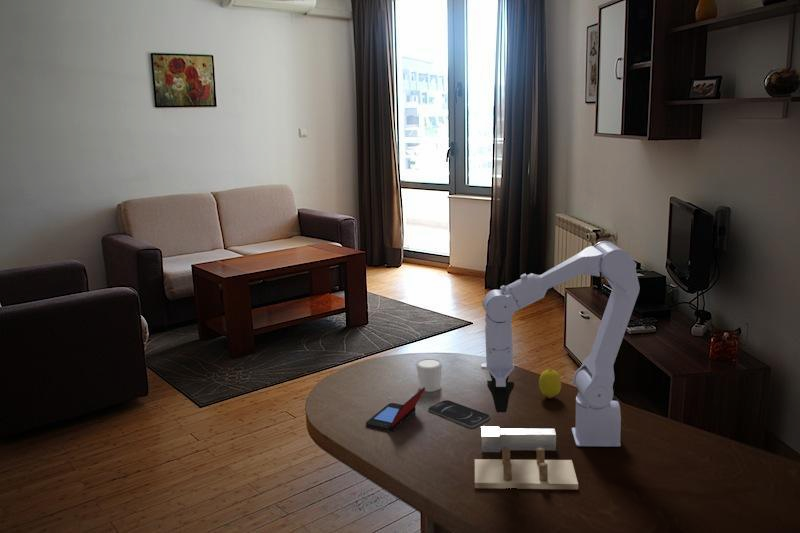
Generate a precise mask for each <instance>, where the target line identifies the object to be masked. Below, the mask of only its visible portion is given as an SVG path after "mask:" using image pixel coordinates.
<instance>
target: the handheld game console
mask: <svg viewBox="0 0 800 533" xmlns="http://www.w3.org/2000/svg"><path fill="white" fill-rule="evenodd" d="M424 392H426V391H425V387H424V388H422V389H419V391H418V392H416V393H415V394H414V395H413V396H412V397H411V398H410V399H408V400H407V401H406V402H405V403H403V404H401V403H400V404H399V403H397V402H390V403H388V404H387V405H385V406H384V407H383V408H381V409H380V410H379V411H377V413H376V414H374V415H373V416H372V417H370V418H369V419H368V420H366V422H365V426H366V427H367V428H370V427H371V428H372V429H376V430H381V431H385V432H389V433H392V432H393V431H394V430H395V429H396V428H397V427H399V426H400V425H401V423H402V422H403V421H404V420H406V419H408V418H409V417H410V416H411V415H413V413H415V412H416V406H417V404H418V402H419V401H420V399H421V397H422V396H423V394H424Z"/></svg>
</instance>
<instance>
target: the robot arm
mask: <svg viewBox="0 0 800 533" xmlns="http://www.w3.org/2000/svg"><path fill="white" fill-rule="evenodd" d="M636 268H637V263H636V261H635V260H634V258H633V257H632V256H631V255H630V254H629V252H627V251H625V250H624V249H621V248H620V247H618V246H617V245H616V244H615V243H613V242H611V241H609V240H602V241H599V242H597V243H595V244H594V245H590V246H587V247H585V248H584V249H583V250H581V251H580V252H578V253H576V254H575V255H573V256H571V257H570V258H568V259H566V260H564V261H562V262H561V263H559V264H556V265H555V266H554V267H552V268H550V269H547V271H545V272H543V273H542V274H536V273H532V272H531V273H529V274H526V273H523V274H521V275H520V277H519V278H520V279H517V280H515V281H514V282H512V283H509V284H507V285H504V284H503V285H501V286H500V289H492V290H490V291H488V292H487V293H486V294H485V296H484V297H483V300H482V302H481V303H482V307H483V309H484V311H485V326H484V329H485V330H484V331H485V333H484V334H485V335H484V336H485V357H486V358H485V359H486V360H485V361H486V362H482V363H481V365H480V368H481V370H486V371H487V372H488V373H489V375H490V379H491V380H487V381H486V384H487V388H488V390H489V392H490V393H491V396H492V399H493V403H494V404H493V405H494V408H495V412H496V413H507V410H508V407H509V401H510V397H511V396H510V395H511V393H512V391H513V389H514V388H515V382H514V381H509V377H510V374H511V373H512V372H513V371H514V370H515V364H514V356H513V355H514V354H513V353H514V350H513V346H514V345H513V324H512V318H513V316H514V314H515V312H518V311H520V310H522V309H523V308H526V307H527V306H530V305H532V304H534V303H535V302H538V301H540V300H542V299H544V298H545V295H546V293H547V292H548V290H549V289H551V288H554V287H555V286H558V285H560V284H563V283H565V282H568V281H569V280H571V279H574V278H575V277H578V276H581V275H588V276H594V277H601V274H602V275H603V276H604V277H605V279H606V280H607V282H608V285H609V286H610V288H611V292H610V295H609V298H608V301H607V303H606V307H605V309H604V312H603V315H602V319H601V322H600V323H599V327H598V330H597V333H596V336H595V338H594V342H593V345H592V348H591V351H590V353H589V355H588V356H586V357H585V358H584V359H583V362H582V364H581V366H580V367H579V368H578V369H577V370H576V371H575V373H574V374H573V384H574V386H575V388H577V390H578V391H577V394H576V396H575V427H571V433H572V435H573V440H574V444H575V445H576V447H607V448H609V447H622V446H621V445H622V442H621V428H622V427H621V424H622V423H621V422H622V416H621V415H622V414H621V412H622V411H621V405H620V403H619V401H618V400H613V398H614V388H613V386H614V382H615V371H614V364H615V362H616V358H617V356H618V353H619V350H620V347H621V345H622V342H623V339H624V336H625V334H626V331H627V327H628V325H629V322H630V319H631V316H632V313H633V310H634V307H635V305H636V301H637V299H638V296H639V294H640V288H641V287H640V281H639V277H638V273H637V269H636Z"/></svg>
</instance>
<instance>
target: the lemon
mask: <svg viewBox="0 0 800 533" xmlns="http://www.w3.org/2000/svg"><path fill="white" fill-rule="evenodd" d="M538 387H539V390H540V391H539V392H540V393H542V395H543V396H545V397H547V398H548V399H552V398H553V397H555V396H558V394H559V393H560V391H561V388H562V379H561V376H560V374H559V373H558V372H557V371H556V370H554V369H552V368H548V369H545V370H544V371H542V373H541V374H540V376H539V379H538Z"/></svg>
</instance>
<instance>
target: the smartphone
mask: <svg viewBox="0 0 800 533" xmlns="http://www.w3.org/2000/svg"><path fill="white" fill-rule="evenodd" d="M427 410H428V412H429V413H432V414H433V415H436V416H439V417H441V418H444V419H446V420H449V421H452V422H453V423H457V424H459V425H461V426H464V427H466V428H468V429H473V428H477V427H478V426H481V425H482V424H483V423H485V422H487V421H489V420H490V419H491V416H490V415H489V414H487V413H485V412H482V411H480V410H476V409H474V408H471V407H469V406H466V405H463V404H459V403H457V402H455V401H452V400H448V399H446V400H445V399H444V400H442V401H440V402H438V403H436V404H434V405H431V406H430V407H428V408H427Z"/></svg>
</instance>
